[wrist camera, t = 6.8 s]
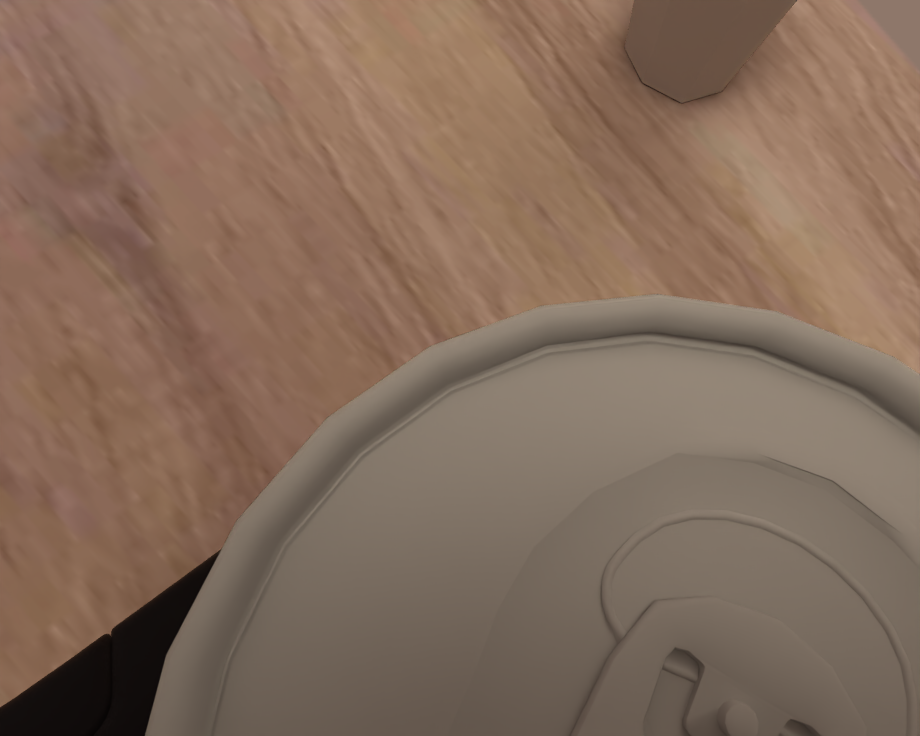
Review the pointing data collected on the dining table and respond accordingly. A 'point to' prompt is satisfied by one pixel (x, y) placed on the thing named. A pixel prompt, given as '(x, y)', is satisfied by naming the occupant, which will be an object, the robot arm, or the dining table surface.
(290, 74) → the dining table surface
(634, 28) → the faceted bottle
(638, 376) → the beverage can
